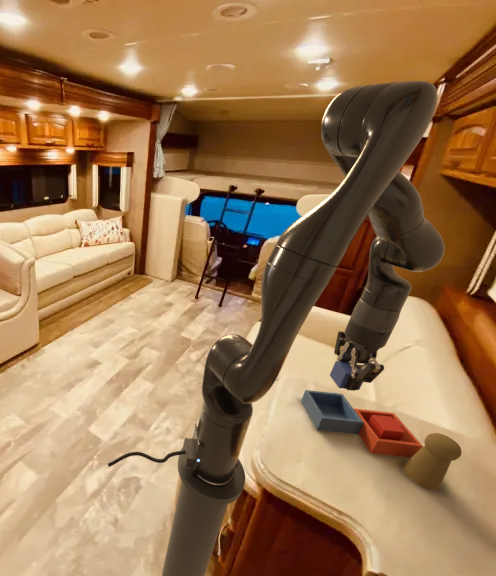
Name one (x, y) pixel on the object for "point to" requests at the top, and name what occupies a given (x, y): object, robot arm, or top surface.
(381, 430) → the red block
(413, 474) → the cork
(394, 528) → the top surface
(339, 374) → the blue block
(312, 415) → the blue bin
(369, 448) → the red bin
